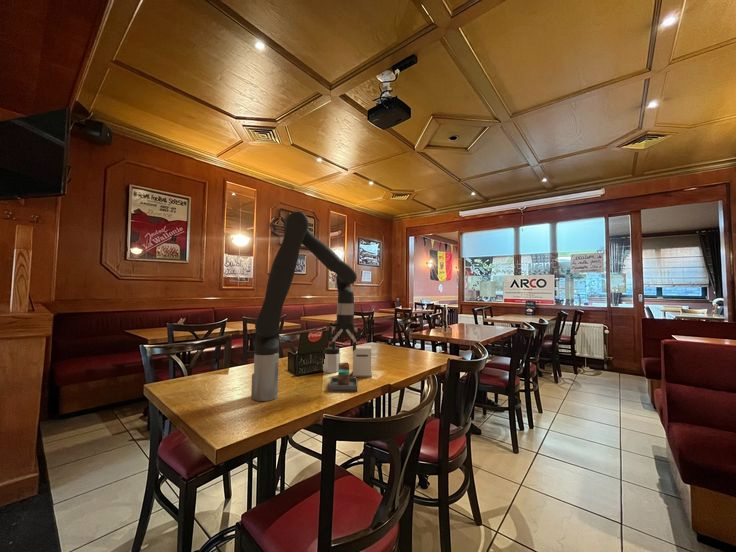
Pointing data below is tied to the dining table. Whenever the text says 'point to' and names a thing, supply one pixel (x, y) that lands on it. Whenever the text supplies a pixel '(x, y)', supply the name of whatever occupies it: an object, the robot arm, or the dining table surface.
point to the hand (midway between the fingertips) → (343, 350)
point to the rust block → (343, 366)
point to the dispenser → (362, 362)
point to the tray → (343, 388)
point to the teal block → (343, 377)
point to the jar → (331, 360)
